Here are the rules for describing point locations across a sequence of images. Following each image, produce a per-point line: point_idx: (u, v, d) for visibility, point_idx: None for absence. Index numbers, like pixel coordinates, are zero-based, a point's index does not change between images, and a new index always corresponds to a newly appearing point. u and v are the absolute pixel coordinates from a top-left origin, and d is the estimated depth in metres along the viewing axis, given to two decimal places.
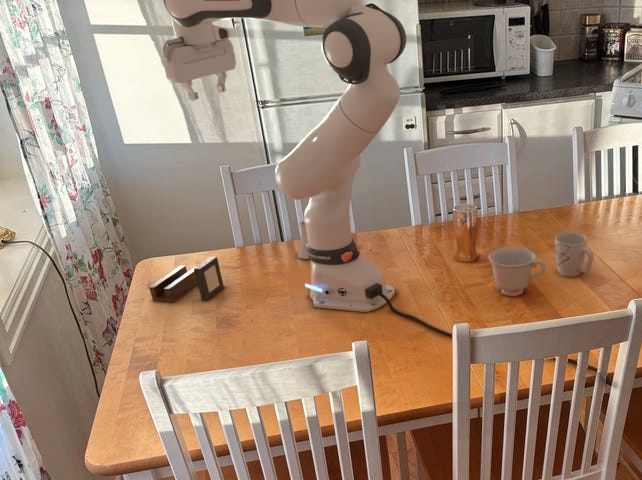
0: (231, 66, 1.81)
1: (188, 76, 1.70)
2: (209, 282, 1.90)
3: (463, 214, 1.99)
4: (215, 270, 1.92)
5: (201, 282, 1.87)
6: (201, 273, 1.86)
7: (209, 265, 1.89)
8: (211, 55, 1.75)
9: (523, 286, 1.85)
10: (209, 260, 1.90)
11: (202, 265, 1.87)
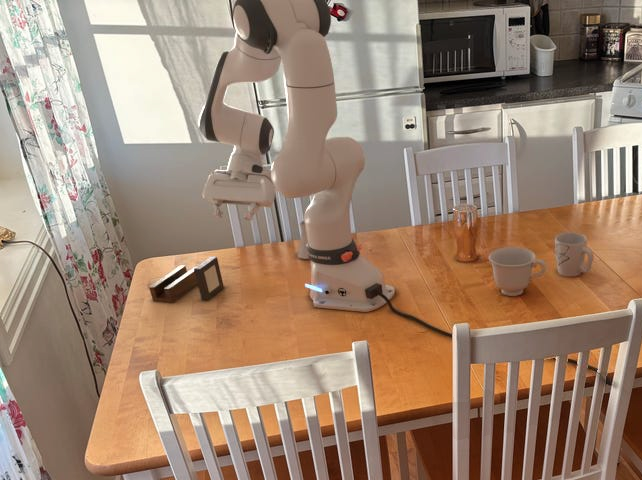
0: (260, 198, 1.96)
1: (212, 194, 1.99)
2: (209, 282, 1.90)
3: (463, 214, 1.99)
4: (215, 270, 1.92)
5: (201, 282, 1.87)
6: (201, 273, 1.86)
7: (209, 265, 1.89)
8: (244, 186, 1.98)
9: (523, 286, 1.85)
10: (209, 260, 1.90)
11: (202, 265, 1.87)
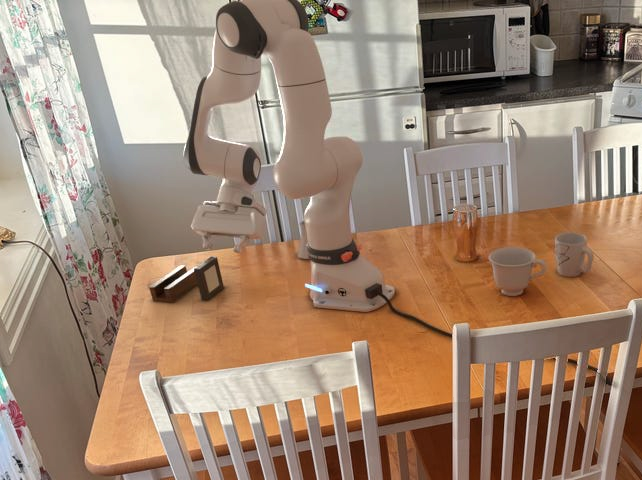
0: (249, 231, 1.93)
1: (201, 226, 1.96)
2: (209, 282, 1.90)
3: (463, 214, 1.99)
4: (215, 270, 1.92)
5: (201, 282, 1.87)
6: (201, 273, 1.86)
7: (209, 265, 1.89)
8: (234, 218, 1.95)
9: (523, 286, 1.85)
10: (209, 260, 1.90)
11: (202, 265, 1.87)
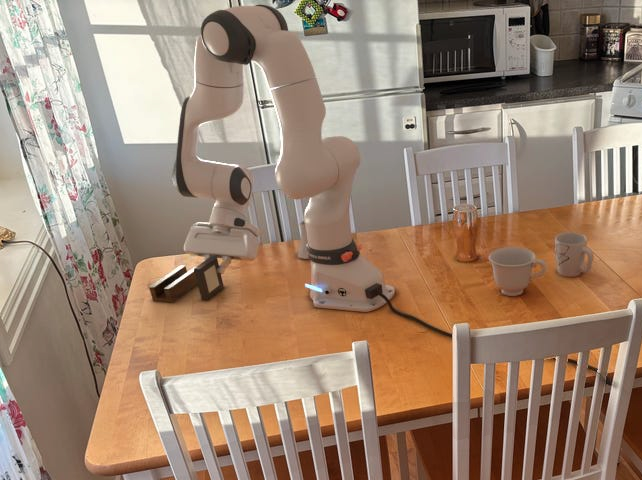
0: (242, 253, 1.90)
1: (193, 248, 1.94)
2: (209, 282, 1.90)
3: (463, 214, 1.99)
4: (215, 270, 1.92)
5: (201, 282, 1.87)
6: (201, 273, 1.86)
7: (209, 265, 1.89)
8: (227, 239, 1.93)
9: (523, 286, 1.85)
10: (209, 260, 1.90)
11: (202, 265, 1.87)
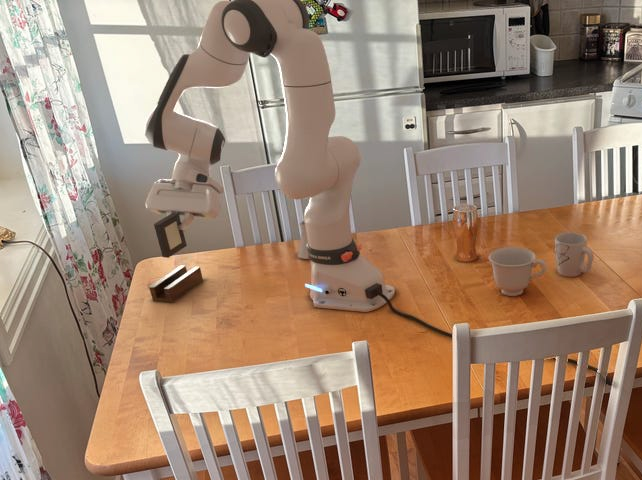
0: (204, 209, 1.86)
1: (155, 204, 1.90)
2: (170, 238, 1.86)
3: (463, 214, 1.99)
4: (177, 227, 1.88)
5: (161, 238, 1.83)
6: (161, 229, 1.82)
7: (171, 221, 1.85)
8: (189, 196, 1.89)
9: (523, 286, 1.85)
10: (170, 216, 1.86)
11: (163, 221, 1.83)
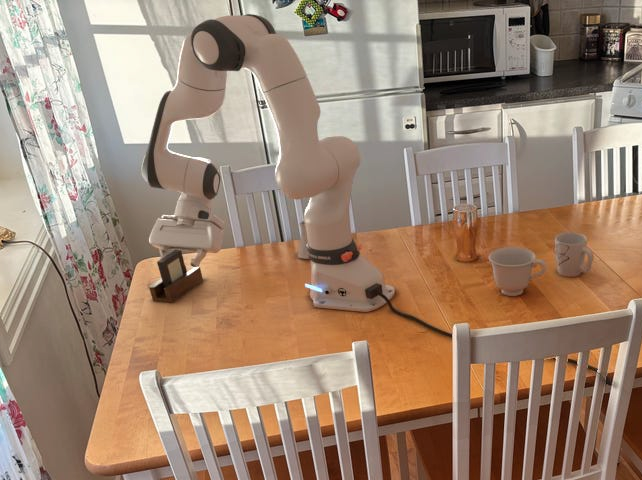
0: (206, 245, 1.92)
1: (158, 240, 1.96)
2: (173, 275, 1.92)
3: (463, 214, 1.99)
4: (179, 263, 1.94)
5: (164, 275, 1.89)
6: (164, 266, 1.88)
7: (173, 258, 1.91)
8: (191, 232, 1.94)
9: (523, 286, 1.85)
10: (173, 253, 1.92)
11: (165, 258, 1.89)
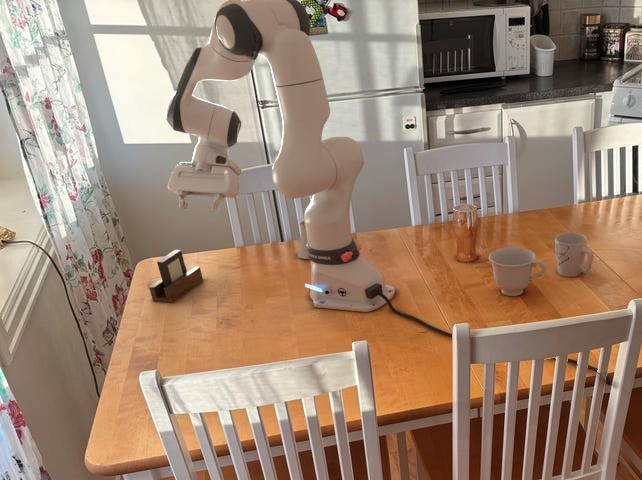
0: (223, 189, 1.97)
1: (177, 185, 2.00)
2: (173, 275, 1.92)
3: (463, 214, 1.99)
4: (179, 263, 1.94)
5: (164, 275, 1.89)
6: (164, 266, 1.88)
7: (173, 258, 1.91)
8: (209, 177, 1.99)
9: (523, 286, 1.85)
10: (173, 253, 1.92)
11: (165, 258, 1.89)
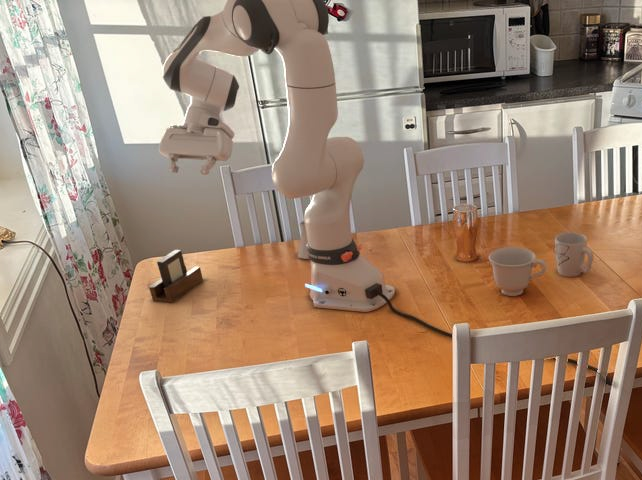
0: (216, 151, 1.92)
1: (168, 148, 1.95)
2: (173, 275, 1.92)
3: (463, 214, 1.99)
4: (179, 263, 1.94)
5: (164, 275, 1.89)
6: (164, 266, 1.88)
7: (173, 258, 1.91)
8: (201, 139, 1.94)
9: (523, 286, 1.85)
10: (173, 253, 1.92)
11: (165, 258, 1.89)
